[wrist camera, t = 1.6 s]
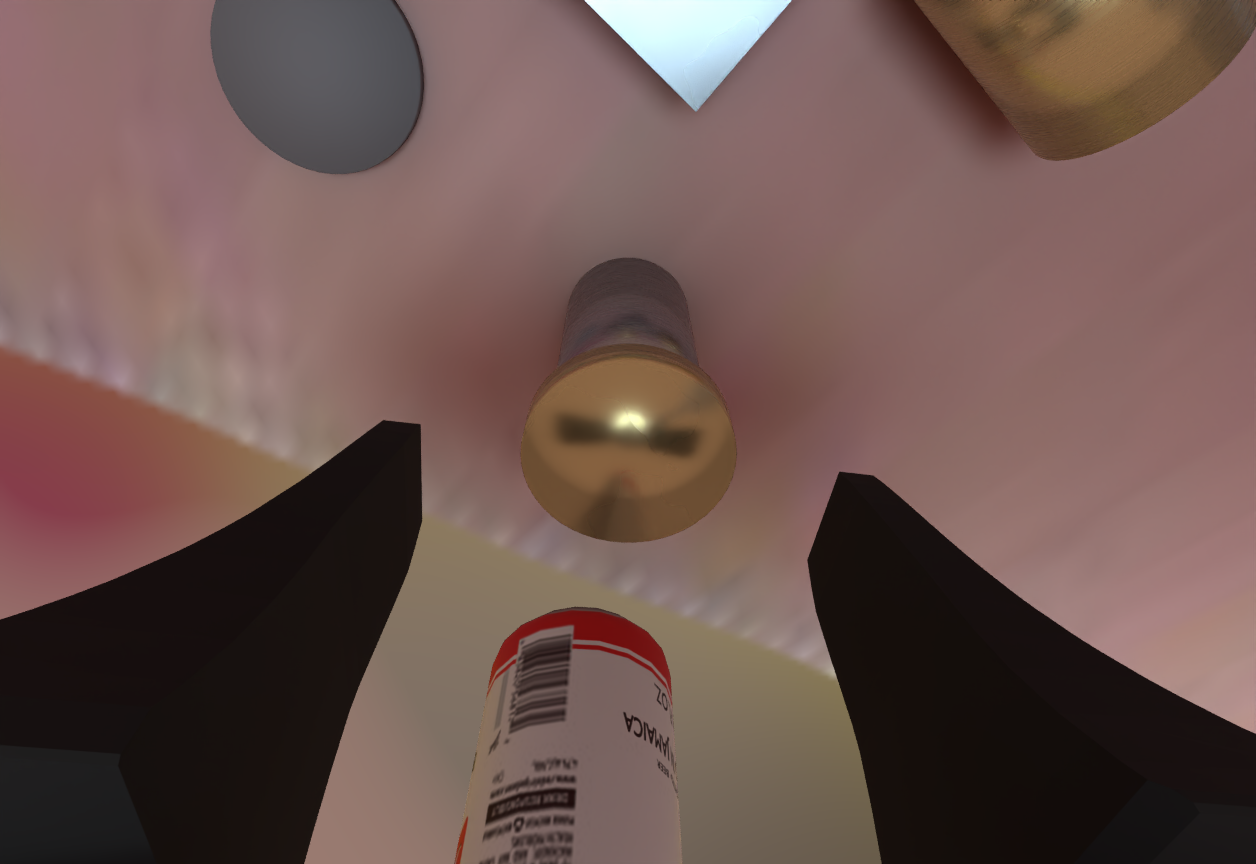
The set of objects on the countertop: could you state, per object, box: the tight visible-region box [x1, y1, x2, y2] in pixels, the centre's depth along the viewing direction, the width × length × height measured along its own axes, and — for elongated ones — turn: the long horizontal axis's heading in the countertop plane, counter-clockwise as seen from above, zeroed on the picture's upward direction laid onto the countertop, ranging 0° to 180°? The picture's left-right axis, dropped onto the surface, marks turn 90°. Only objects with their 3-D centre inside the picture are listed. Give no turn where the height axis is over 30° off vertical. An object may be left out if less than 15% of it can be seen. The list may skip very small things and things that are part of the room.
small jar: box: [521, 258, 737, 542], centre depth 16 cm, size 4×4×7 cm
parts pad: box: [211, 0, 424, 174], centre depth 16 cm, size 4×4×1 cm
